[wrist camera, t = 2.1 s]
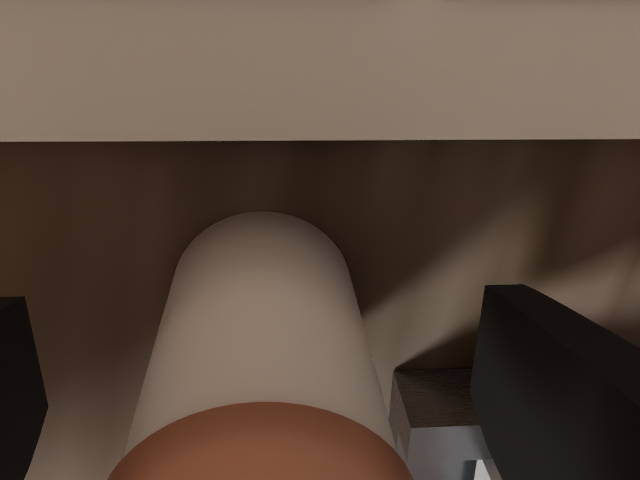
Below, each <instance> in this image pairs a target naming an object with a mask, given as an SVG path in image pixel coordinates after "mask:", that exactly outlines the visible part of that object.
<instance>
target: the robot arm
mask: <svg viewBox="0 0 640 480" xmlns="http://www.w3.org/2000/svg"><path fill="white" fill-rule="evenodd" d="M469 391H470V394H471V397H472V401H473V404H474V408H475V411H476V414H477V418H478V421H479V424H480V427H481V430H482V433H483V436H484V439H485V442H486V445H487V448H488V450H489V452H490V454H491V457H492V459H493V461H494V463H495V465H496V467H497V470H498V472H499V474H500V476H501V478H502V480H640V348H638V347H636V346H635V345H633V344H631V343H629V342H627V341H626V340H624V339H622V338H620V337H619V336H617V335H615V334H613V333H612V332H610V331H608V330H606V329H605V328H603V327H601V326H599V325H598V324H596V323H594V322H592V321H591V320H589V319H587V318H585V317H584V316H582V315H580V314H578V313H577V312H575V311H573V310H571V309H570V308H568V307H566V306H564V305H563V304H561V303H559V302H557V301H555V300H554V299H552V298H550V297H548V296H546V295H544V294H542V293H541V292H539V291H537V290H534V289H532V288H530V287H528V286H526V285H523V284H519V285H485V290H484V296H483V303H482V310H481V316H480V323H479V329H478V336H477V343H476V349H475V356H474V362H473V369H472V376H471V382H470V389H469ZM47 409H48V403H47V398H46V393H45V389H44V384H43V379H42V375H41V370H40V365H39V361H38V356H37V351H36V347H35V342H34V337H33V333H32V328H31V323H30V319H29V314H28V309H27V305H26V300H25V296H22V297H0V480H24V478H25V475H26V473H27V471H28V469H29V466H30V463H31V460H32V457H33V454H34V451H35V448H36V445H37V442H38V439H39V436H40V433H41V429H42V426H43V422H44V419H45V416H46V412H47Z"/></svg>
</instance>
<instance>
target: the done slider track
mask: <svg viewBox="0 0 640 480" xmlns="http://www.w3.org/2000/svg"><path fill="white" fill-rule="evenodd" d="M472 369H473V368H462V369H434V370H406V371H393V380H392V392H391V404H390V415H389V423H390V427H391V430H392V434H393V438H394V442H395V445H396V449H397V453H398V455H399V456H400V457H401V458H402V460H403V461H404V462H405V464H406V466H407V467H408V469H409V471H410V473H411V475H412V476H413V479H414V480H474V476H475V470H476V464H477V460H485V459H492V457H491V454H490V452H489V450H488V448H487V445H486V442H485V439H484V436H483V433H482V430H481V427H480V424H479V421H478V418H477V414H476V411H475V408H474V404H473V401H472V397H471V394H470V391H469V389H470V382H471V376H472Z"/></svg>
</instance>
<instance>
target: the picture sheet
mask: <svg viewBox="0 0 640 480" xmlns="http://www.w3.org/2000/svg"><path fill="white" fill-rule="evenodd" d="M519 139H640V0H0V142H69V141H294V140H519Z"/></svg>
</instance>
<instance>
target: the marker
mask: <svg viewBox="0 0 640 480" xmlns="http://www.w3.org/2000/svg"><path fill="white" fill-rule="evenodd" d="M108 480H414V479H413V476H412V475H411V473H410V471H409V469H408V467H407V466H406V464H405V462H404V461H403V460H402V458H401V457H400V456H399V455H398V453H397V449H396V445H395V442H394V438H393V434H392V430H391V427H390V423H389V419H388V415H387V412H386V408H385V404H384V400H383V397H382V393H381V389H380V385H379V382H378V378H377V374H376V370H375V367H374V363H373V359H372V355H371V352H370V348H369V344H368V340H367V337H366V333H365V329H364V325H363V322H362V318H361V314H360V310H359V307H358V303H357V299H356V296H355V292H354V288H353V284H352V281H351V277H350V273H349V270H348V267H347V264H346V261H345V259H344V257H343V255H342V253H341V252H340V250H339V249H338V247H337V246H336V245H335V243H334V242H333V241H332V240H331V239H330V238H329V237H328V236H327V235H326V234H325V233H324V232H322V231H321V230H320V229H319V228H317V227H315V226H314V225H312V224H310V223H309V222H307V221H304V220H302V219H300V218H298V217H295V216H291V215H288V214H284V213H278V212H268V211H257V212H247V213H242V214H237V215H234V216H231V217H227V218H225V219H222V220H220V221H218V222H216V223H214V224H213V225H211V226H209V227H208V228H206V229H205V230H203V231H202V232H201V233H200V234H199V235H198V236H196V237H195V238H194V239H193V241H192V242H191V243H190V244H189V245H188V246H187V248H186V249H185V251H184V252H183V254H182V255H181V258H180V260H179V262H178V264H177V267H176V270H175V274H174V277H173V281H172V284H171V288H170V291H169V295H168V298H167V302H166V305H165V309H164V312H163V316H162V319H161V323H160V326H159V330H158V333H157V337H156V340H155V343H154V347H153V350H152V354H151V357H150V361H149V364H148V368H147V371H146V375H145V378H144V382H143V385H142V389H141V392H140V396H139V399H138V403H137V406H136V410H135V413H134V417H133V420H132V424H131V427H130V431H129V434H128V438H127V441H126V445H125V448H124V452H123V455H122V459H121V461H120V462H119V463H118V465H117V466H116V468H115V469H114V470H113V472H112V473H111V475H110V476H109V478H108Z"/></svg>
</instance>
